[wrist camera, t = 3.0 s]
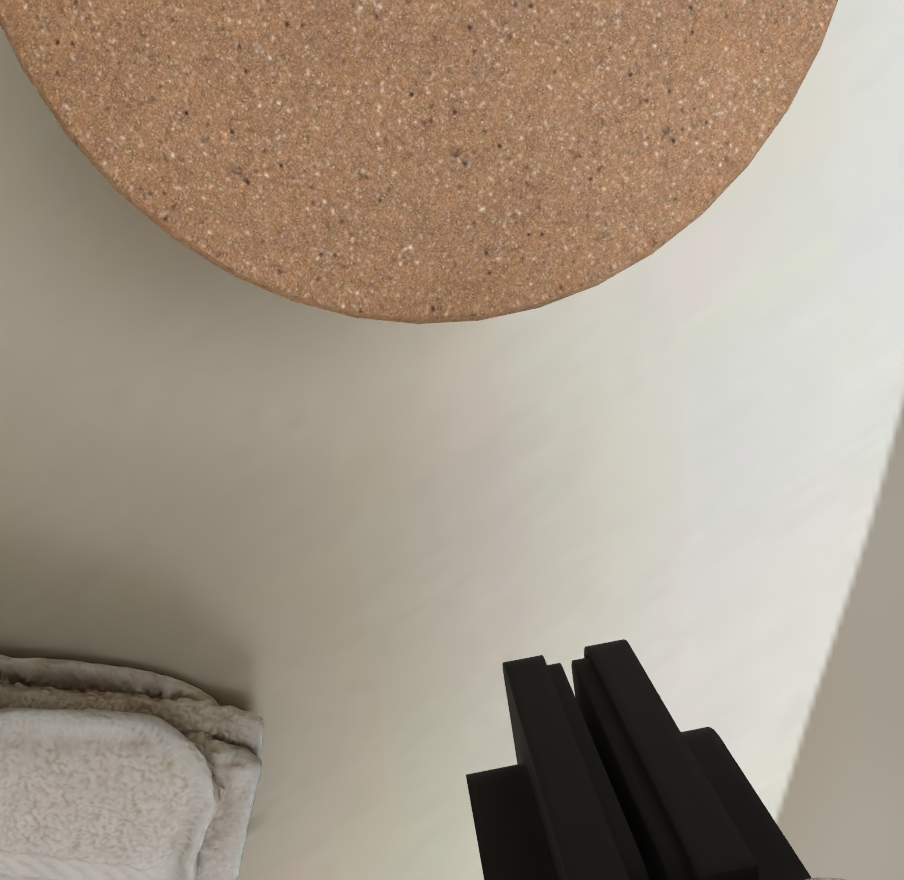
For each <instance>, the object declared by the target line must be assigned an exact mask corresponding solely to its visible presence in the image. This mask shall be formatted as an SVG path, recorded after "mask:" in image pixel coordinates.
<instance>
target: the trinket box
mask: <svg viewBox="0 0 904 880" xmlns="http://www.w3.org/2000/svg"><path fill="white" fill-rule="evenodd" d="M837 2H838V0H0V24H1V26H2V28H3V30H4V32H5V34H6V36H7V38H8V40H9V43H10V45H11V47H12V49H13V51H14V53H15V55H16V57H17V59H18V61H19V63H20V65H21V67H22V69H23V70H24V72H25V73H26V75H27V76H28V78H29V79H30V81H31V82H32V84H33V85H34V87H35V88H36V90H37V91H38V93H39V94H40V96H41V97H42V99H43V100H44V102H45V103H46V105H47V106H48V108H49V109H50V111H51V112H52V114H53V115H54V117H55V118H56V120H57V121H58V123H59V124H60V125H61V127H62V128H63V130H64V131H65V133H66V134H67V136H68V137H69V138H70V139H71V140H72V141H73V142H74V143H75V145H76V146H77V147H78V148H79V149H80V150H81V151H82V152H83V154H84V155H85V156H86V157H87V158H88V159H89V160H90V161H91V162H92V164H93V165H94V166H95V167H96V168H97V169H98V170H99V171H100V173H101V174H102V175H103V176H104V177H105V178H106V179H107V180H108V182H109V183H110V184H111V185H112V186H113V187H114V188H115V189H116V190H117V192H119V193H120V194H121V195H122V196H123V197H125V198H126V199H127V200H128V201H129V202H131V203H132V204H133V205H134V206H135V207H136V208H138V209H139V210H140V211H141V212H142V213H144V214H145V215H146V216H147V217H148V218H149V219H151V220H152V221H153V222H154V223H155V224H157V225H158V226H159V227H160V228H161V229H163V230H164V231H165V232H166V233H167V234H168V235H170V236H171V237H172V238H173V239H175V240H177V241H178V242H180V243H181V244H183V245H185V246H186V247H188V248H189V249H191V250H193V251H194V252H196V253H198V254H199V255H201V256H202V257H204V258H206V259H207V260H209V261H210V262H212V263H214V264H215V265H217V266H218V267H220V268H222V269H223V270H225V271H226V272H228V273H230V274H231V275H233V276H236V277H238V278H240V279H243V280H245V281H247V282H250V283H252V284H254V285H257V286H259V287H261V288H264V289H266V290H268V291H270V292H273V293H275V294H277V295H280V296H282V297H284V298H287V299H289V300H291V301H294V302H298V303H302V304H306V305H309V306H313V307H317V308H321V309H325V310H328V311H332V312H336V313H340V314H344V315H348V316H351V317H356V318H365V319H375V320H385V321H395V322H405V323H415V324H423V323H441V322H459V321H478V320H484V319H488V318H493V317H497V316H502V315H507V314H511V313H516V312H521V311H525V310H530V309H535V308H539V307H542V306H545V305H547V304H550V303H552V302H555V301H558V300H560V299H563V298H565V297H568V296H571V295H573V294H576V293H578V292H581V291H584V290H586V289H589V288H591V287H594V286H597V285H599V284H600V283H602V282H604V281H606V280H607V279H609V278H611V277H613V276H614V275H616V274H618V273H619V272H621V271H623V270H625V269H626V268H628V267H630V266H632V265H633V264H635V263H637V262H639V261H640V260H642V259H644V258H646V257H647V256H649V255H651V254H652V253H654V252H655V251H656V250H657V249H659V248H660V247H661V246H663V245H664V244H665V243H666V242H668V241H669V240H670V239H671V238H673V237H674V236H675V235H676V234H678V233H679V232H680V231H682V230H683V229H684V228H685V227H687V226H688V225H689V224H690V223H692V222H693V221H694V220H695V219H697V218H698V217H699V216H701V215H702V214H703V213H704V212H705V211H706V210H707V209H708V208H709V207H710V205H711V204H712V203H713V202H714V201H715V200H716V199H717V198H718V197H719V196H720V195H721V194H722V193H723V192H724V191H725V190H726V189H727V187H728V186H729V185H730V184H731V183H732V182H733V181H734V180H735V179H736V178H737V177H738V176H739V175H740V174H741V173H742V172H743V171H744V170H745V168H746V167H747V166H748V165H749V164H750V162H751V161H752V159H753V158H754V157H755V155H756V154H757V152H758V151H759V150H760V148H761V147H762V145H763V144H764V143H765V141H766V140H767V138H768V137H769V136H770V134H771V133H772V131H773V130H774V129H775V127H776V126H777V124H778V123H779V122H780V120H781V119H782V117H783V116H784V115H785V113H786V112H787V110H788V109H789V107H790V105H791V103H792V101H793V99H794V97H795V95H796V93H797V91H798V89H799V88H800V86H801V84H802V82H803V80H804V78H805V76H806V74H807V72H808V70H809V68H810V67H811V65H812V63H813V61H814V59H815V57H816V55H817V53H818V51H819V49H820V47H821V45H822V42H823V40H824V37H825V34H826V32H827V29H828V26H829V23H830V21H831V18H832V15H833V12H834V10H835V7H836V4H837Z"/></svg>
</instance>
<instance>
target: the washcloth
mask: <svg viewBox="0 0 904 880" xmlns="http://www.w3.org/2000/svg"><path fill="white" fill-rule="evenodd" d="M263 724H264V723H263V719H262V718H261V717H259V716H257V715H256V714H254V713H253V712H252V711H242V710H241V709H238V708H236V707H234V706H231V705H228V706H219V705H218V703H217V702H216V701H215V700H214V698H212V697H211V696H210V695H208V694H206V693H204V692H203V691H202V690H201V689H199V688H196V687H194V686H192V685H190V684H188V683H186V682H184V681H180V680H177V679H174V678H171V677H169V676H166V675H159V674H157V673H154V672H151V671H143V670H138V669H134V668H129V667H117V666H111V665H104V664H91V663H87V662H81V661H77V660H61V659H46V658H42V657H40V658H11V657H8V656H5V655H1V654H0V880H237V878H238V873H239V869H240V862H241V856H242V852H243V849H244V843H245V837H246V833H247V828H248V822H249V818H250V814H251V810H252V807H253V804H254V797H255V790H256V786H257V783H258V781H259V778H260V774H261V767H262V761H261V759H260V756H261V749H262V741H263Z"/></svg>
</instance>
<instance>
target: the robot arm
mask: <svg viewBox="0 0 904 880" xmlns="http://www.w3.org/2000/svg"><path fill="white" fill-rule="evenodd" d="M503 673H504V680H505V686H506V693H507V699H508V706H509V712H510V718H511V725H512V731H513V738H514V744H515V751H516V757H517V764H518V765H513V766H508V767H503V768H498V769H493V770H488V771H483V772H478V773H473V774H468V775H466V778H467V784H468V789H469V795H470V801H471V806H472V812H473V818H474V824H475V829H476V835H477V841H478V846H479V852H480V858H481V863H482V869H483V875H484V880H844V879H839V878H819V877H816V878H811V876H810V875H809V873H808V872H807V871H806V869H805V867H804V866H803V864H802V863H801V861H800V860H799V858H798V856H797V855H796V853H795V852H794V850H793V849H792V847H791V846H790V844H789V843H788V841H787V839H786V838H785V836H784V835H783V834H782V832H781V830H780V829H779V827H778V826H777V824H776V823H775V821H774V820H773V818H772V816H771V815H770V813H769V812H768V810H767V809H766V807H765V806H764V804H763V803H762V801H761V800H760V798H759V796H758V795H757V793H756V792H755V790H754V789H753V787H752V786H751V784H750V783H749V781H748V780H747V778H746V776H745V775H744V773H743V772H742V770H741V769H740V767H739V766H738V764H737V763H736V761H735V760H734V758H733V757H732V755H731V753H730V752H729V750H728V749H727V747H726V746H725V744H724V743H723V741H722V740H721V738H720V737H719V735H718V734H717V733H716V732H715V730H714V729H712V728H710V727H705V728H700V729H695V730H690V731H685V732H680V730H679V729H678V727H677V725H676V724H675V722H674V720H673V718H672V717H671V715H670V713H669V712H668V710H667V708H666V706H665V705H664V703H663V701H662V700H661V698H660V696H659V694H658V693H657V691H656V689H655V688H654V686H653V684H652V682H651V681H650V679H649V677H648V676H647V674H646V672H645V670H644V669H643V667H642V665H641V664H640V662H639V660H638V659H637V657H636V655H635V653H634V652H633V650H632V648H631V647H630V645H629V643H628V642H627V641H626V640H618V641H613V642H608V643H603V644H597V645H592V646H587V647H585V649H584V658H583V659H578V660H573V661H572V674H573V682H574V690H575V696H574V694H573V691H572V689H571V686H570V684H569V682H568V679H567V677H566V674H565V672H564V670H563V667H562V665H561V664H560V663H557V664H552V665H547V664H546V662H545V659H544V657H543V656H542V655H540V656H535V657H530V658H524V659H519V660H514V661H509V662H503Z"/></svg>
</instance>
